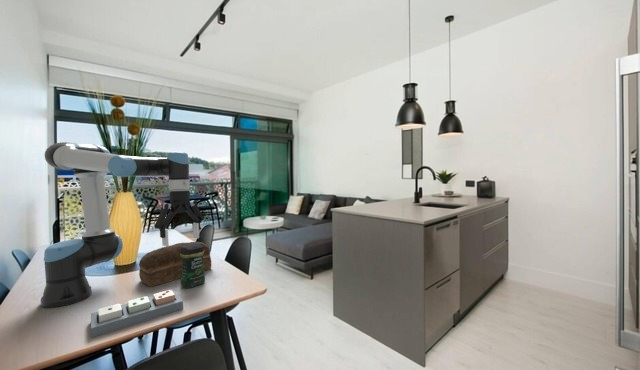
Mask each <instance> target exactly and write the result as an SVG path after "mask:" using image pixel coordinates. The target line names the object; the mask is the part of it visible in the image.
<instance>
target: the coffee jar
mask: <svg viewBox="0 0 640 370" xmlns="http://www.w3.org/2000/svg"><path fill="white" fill-rule="evenodd" d="M203 254H204V247H203V244H201V243H195V244H190V245H185V246H182V247H181V251H180V256H181V258H182V275H181V278H180V286H181V287H182V288H186V289H191V288H194V287H197V286H199V285H203V284H204V283H205V282H206V277H205V276H206V275H205V271H204V268H203Z"/></svg>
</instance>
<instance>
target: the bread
mask: <svg viewBox="0 0 640 370" xmlns="http://www.w3.org/2000/svg"><path fill="white" fill-rule="evenodd" d="M195 243H201V244H203V247H204V254H203V268H204V272H205V271H209V270H211V268H212V257H211V249H210V247H209V244H206V243H205V242H201V241H190V242H178V243H174V244H171V245H169V246H162V247H159V248H156V249H154V250H151V251H148V252H147V253H146V254H144V255H143V256H141V258H140V260H139V264H138V266H139V273H138V275H139V280H140V281H141V282H142V283H143V284H144V285H146V286H147V287H150V288H151V287H156V286H160V285H163V284H166V283H169V282H172V281H176V280H178V279H181V275H182V258H181V256H180V251H181V247H182V246H185V245H190V244H195Z"/></svg>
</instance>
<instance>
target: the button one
mask: <svg viewBox="0 0 640 370" xmlns="http://www.w3.org/2000/svg"><path fill="white" fill-rule="evenodd" d="M121 305H122V304H121V303H115V304H112V305H109V306H105V307H101V308H97V309H98V310H97V312H99V322H103V321H106V320H110V319H113V318H117V317H120V316H122V308H121Z"/></svg>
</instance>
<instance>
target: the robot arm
mask: <svg viewBox="0 0 640 370" xmlns="http://www.w3.org/2000/svg"><path fill="white" fill-rule="evenodd" d="M44 160H45V162H46V163H47V164H48V165H49V166H50V167H53V168H55V169H58V170H64V171H73V175H74V176H75V177H77V178H78V180H79V187H80V193H81V194H80V195H81V196H80V197H81V203H82V211H83V218H84V220H83V221H84V228H85V229H84V230H85V232H84V233H83V234H82V235H81V238H72V239H68V240H61V241H59V242H56V243H52V244H50V245H49V246H47V247H46V249H45V248H44V254H43V261H44V271H45V272H44V273H45V275H44V277H45V286H44V291H43V294H42V296H41V298H40V306H41V307H42V308H44V307H47V308H48V309H52V308H51V307H53V308H59V307H64V306H68V305H72V304H74V303H78V302H81V301H83V300H86V299H87V298H89V297H90V296H91V295H92V290H93V289H92V286H91V285H90V283H89V281H88V279H87V277H86V268H89V267H93V266H95V265H99V264H103V263H107V262H109V261H111V260H114V259H116V258H118V257H119V255H121V253H122V251H123V248H124V247H123V246H124V242H123V240H122V238H121V236H120V235H118V234H117V233H116V232H115V230H114V229H112V228H111V224H110V216H109V207H108V199H107V191H106V182H105V177H106V176H107V174H112V175H113V176H114V177H119V178H120V177H121V178H129V177H130V178H131V177H166V176H167V177H168V190H169V193H168V194H169V195H168V196H169V197H168V198H169V203H162V204H161V210H160V212H159V214H158V217H157V219H156V222H155V224H154V227H153V228H154V229H157V230H159V238H161V240H162V242H161V243H162V247H166V246H170V245H169V229H168V228H167V227H168V226H169V224H170V223H171V222H172V220H173V219H174V217H175V216H176V215H177V214H182V213H183V214H184V213H186V214H187V216H188V217H189V218H190V219H191V220H192V238H193V239H199V238H200V229H201V223H202V222H203V221H204V220H205V218H204V216H203V213H202V212H201V210H200V208H199V206H198V201H197V200H190V199H191V191H190V188H191V187H190V186H191V185H190V161H189V155H188V153H186V152H183V151H171V152H168V153H167V156H166V157H150V156H149V157H146V156H131V155H125V154H115V153H111V152H110V151H109V149H107V148H106V147H105V146H102V145H96V144H89V143H75V142H67V141H66V142H65V141H64V142H63V141H62V142H56V143H54V144H51V145H49V147H47V148H46V150H45V151H44ZM190 206H191V207H190ZM47 308H46V309H47Z"/></svg>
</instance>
